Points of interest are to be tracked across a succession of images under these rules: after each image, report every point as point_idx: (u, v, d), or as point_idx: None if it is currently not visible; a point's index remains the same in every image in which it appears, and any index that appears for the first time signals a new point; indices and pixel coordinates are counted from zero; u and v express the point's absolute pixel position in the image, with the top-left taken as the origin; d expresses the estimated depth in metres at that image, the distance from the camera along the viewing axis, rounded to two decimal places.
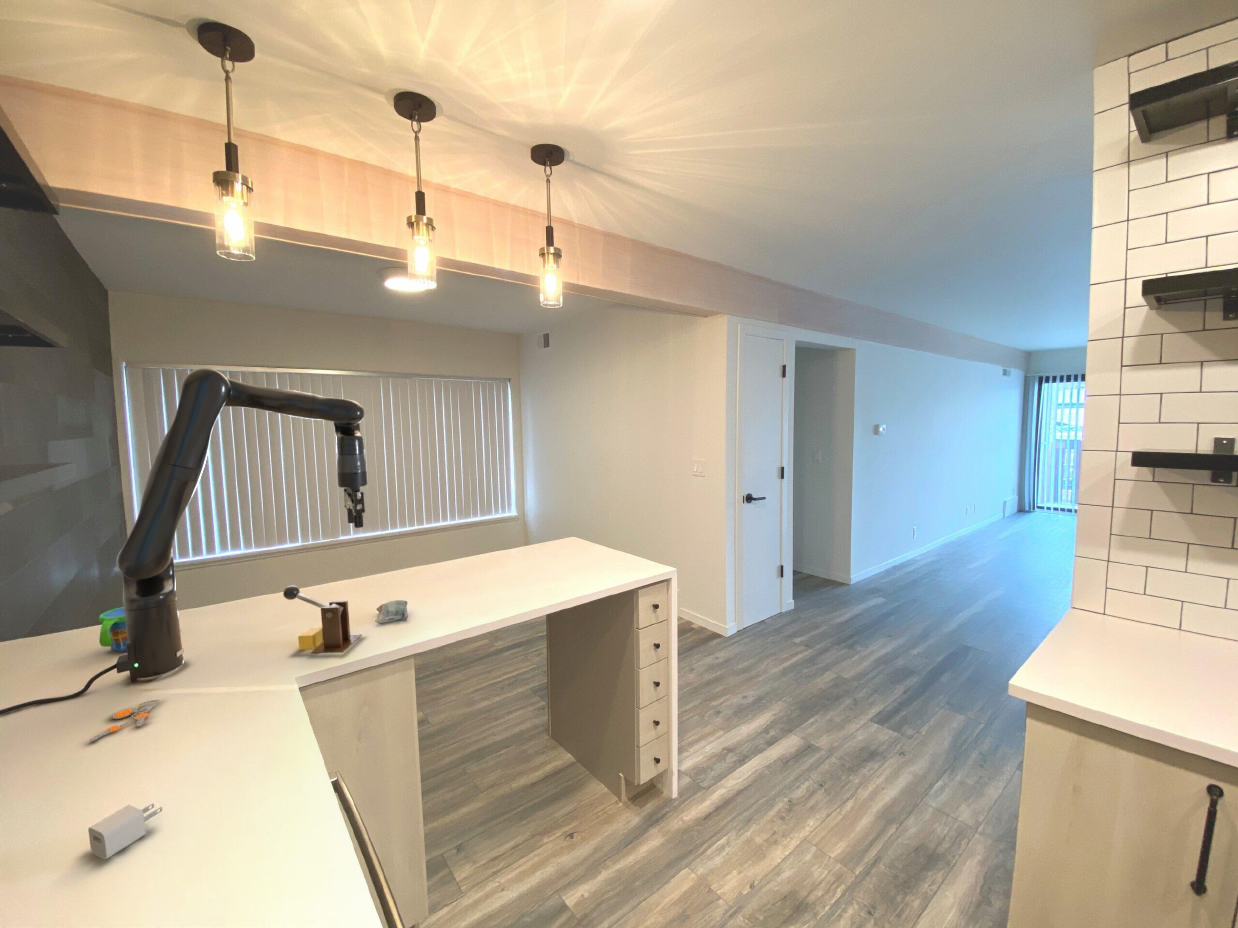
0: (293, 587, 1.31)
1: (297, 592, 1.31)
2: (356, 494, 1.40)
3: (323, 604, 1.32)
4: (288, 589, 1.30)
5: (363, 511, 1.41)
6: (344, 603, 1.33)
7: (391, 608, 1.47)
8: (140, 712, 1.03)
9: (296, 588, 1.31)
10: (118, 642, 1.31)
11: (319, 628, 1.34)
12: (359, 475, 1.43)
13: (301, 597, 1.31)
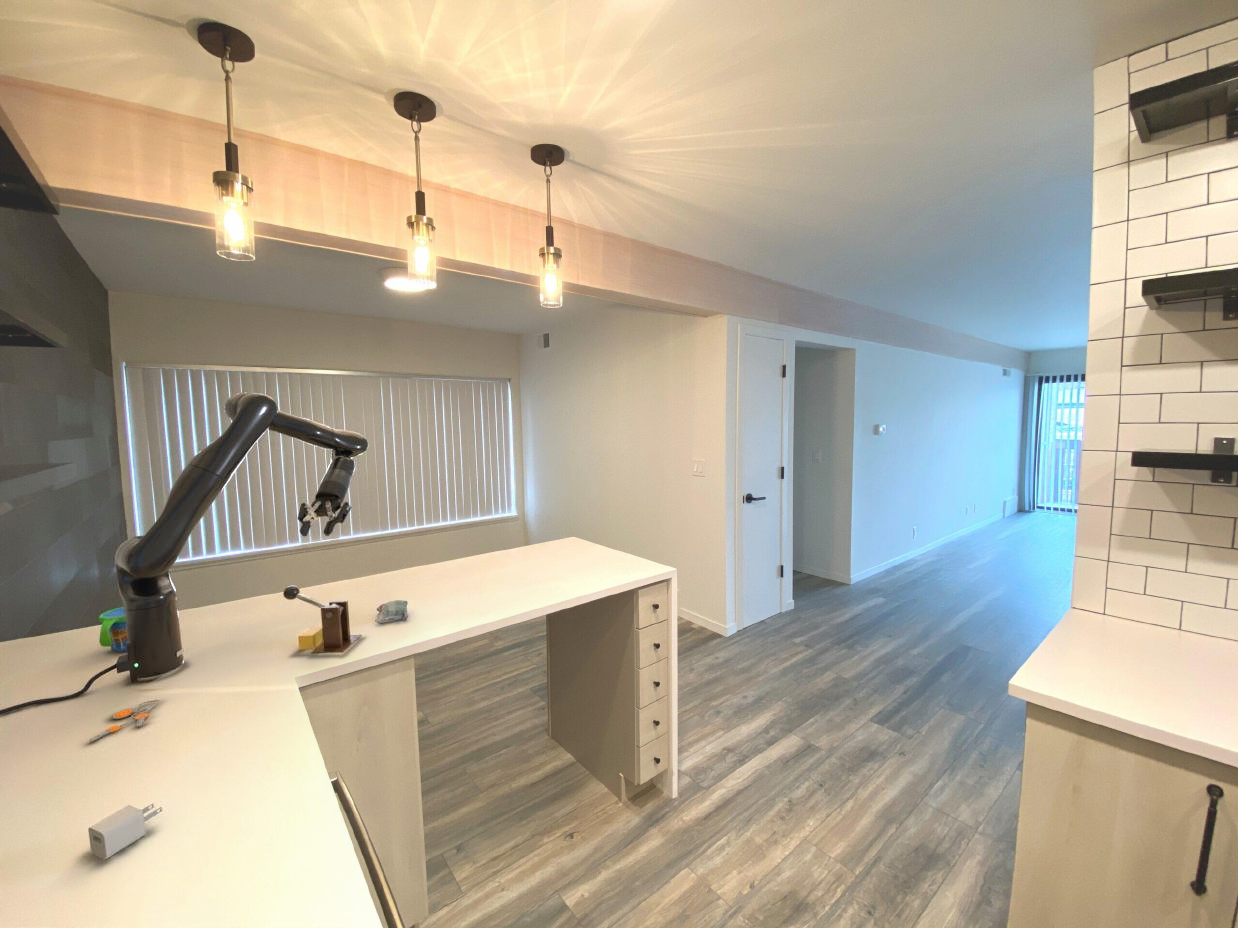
0: (293, 587, 1.31)
1: (297, 592, 1.31)
2: (348, 504, 1.48)
3: (323, 604, 1.32)
4: (288, 589, 1.30)
5: (342, 521, 1.46)
6: (344, 603, 1.33)
7: (391, 608, 1.47)
8: (140, 712, 1.03)
9: (296, 588, 1.31)
10: (118, 642, 1.31)
11: (319, 628, 1.34)
12: (345, 492, 1.53)
13: (301, 597, 1.31)
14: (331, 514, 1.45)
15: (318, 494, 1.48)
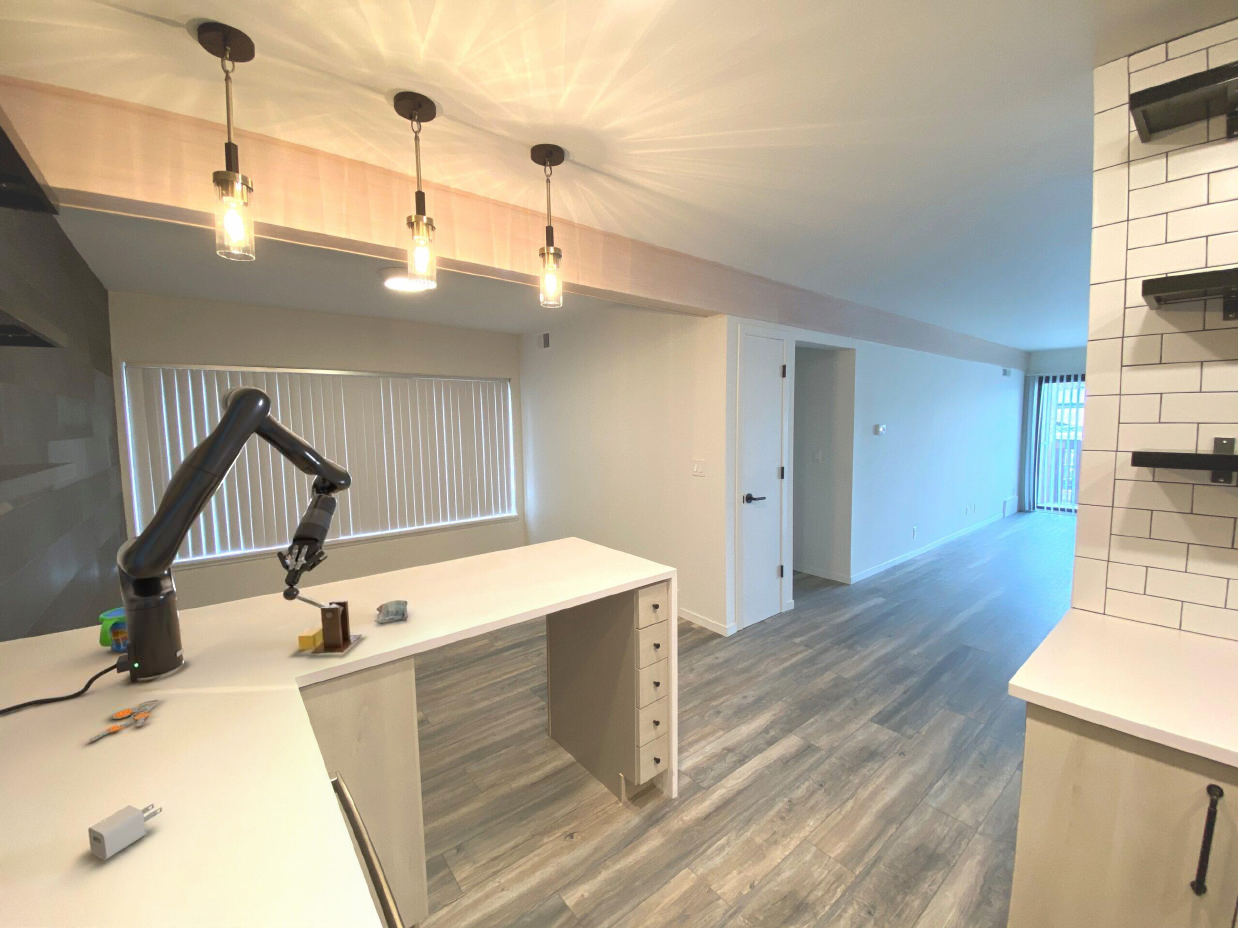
0: (292, 588, 1.31)
1: (297, 593, 1.31)
2: (323, 554, 1.36)
3: (323, 604, 1.32)
4: (288, 590, 1.30)
5: (309, 570, 1.35)
6: (344, 603, 1.33)
7: (391, 608, 1.47)
8: (140, 712, 1.03)
9: (296, 589, 1.31)
10: (118, 642, 1.31)
11: (319, 628, 1.34)
12: (326, 534, 1.42)
13: (301, 598, 1.31)
14: (300, 562, 1.34)
15: (295, 537, 1.37)
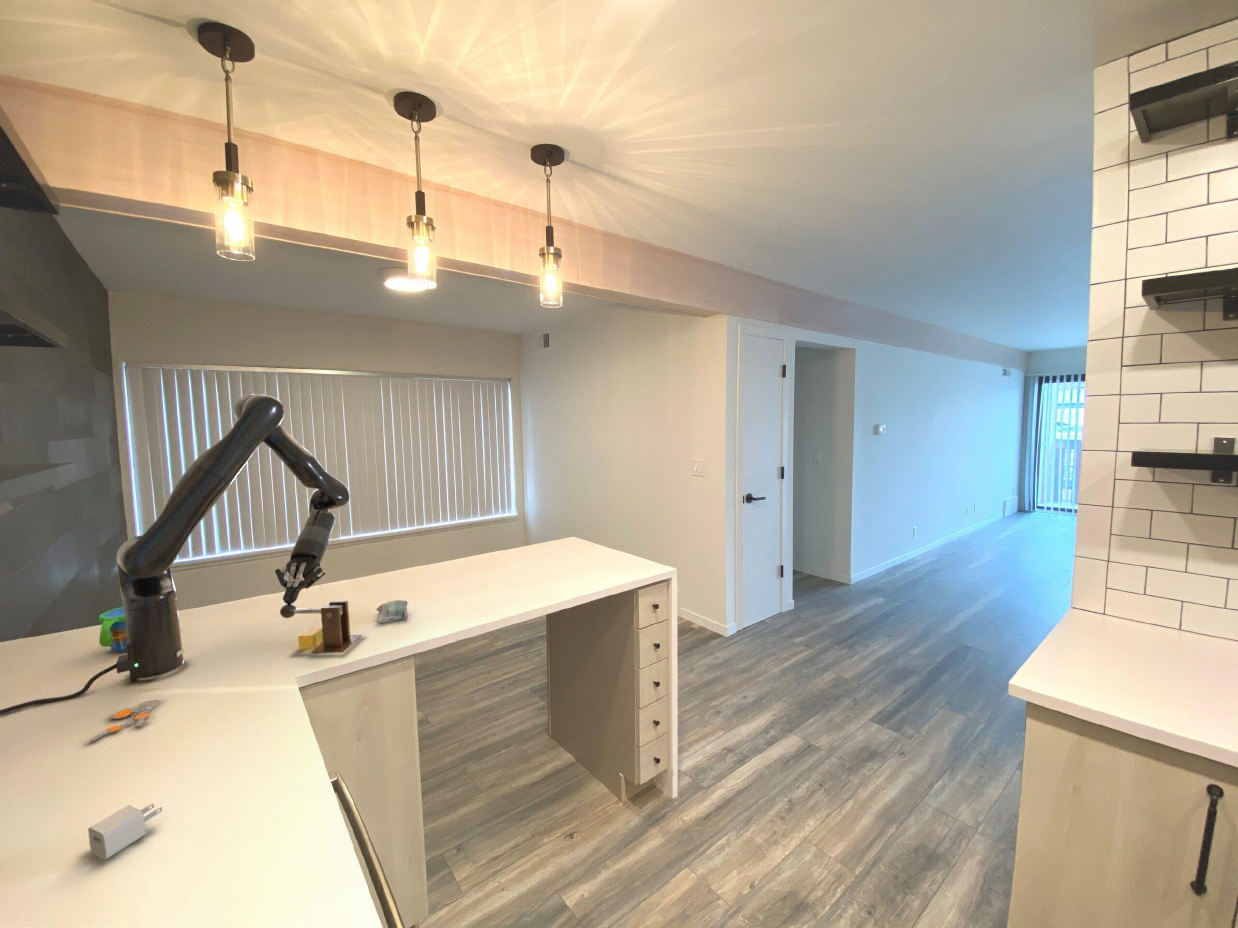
0: (287, 605, 1.31)
1: (293, 608, 1.31)
2: (321, 571, 1.36)
3: None
4: (283, 608, 1.30)
5: (307, 587, 1.35)
6: (344, 603, 1.33)
7: (391, 608, 1.47)
8: (140, 712, 1.03)
9: (291, 605, 1.32)
10: (118, 642, 1.31)
11: (319, 628, 1.34)
12: (324, 550, 1.43)
13: (298, 611, 1.31)
14: (298, 579, 1.34)
15: (293, 554, 1.37)
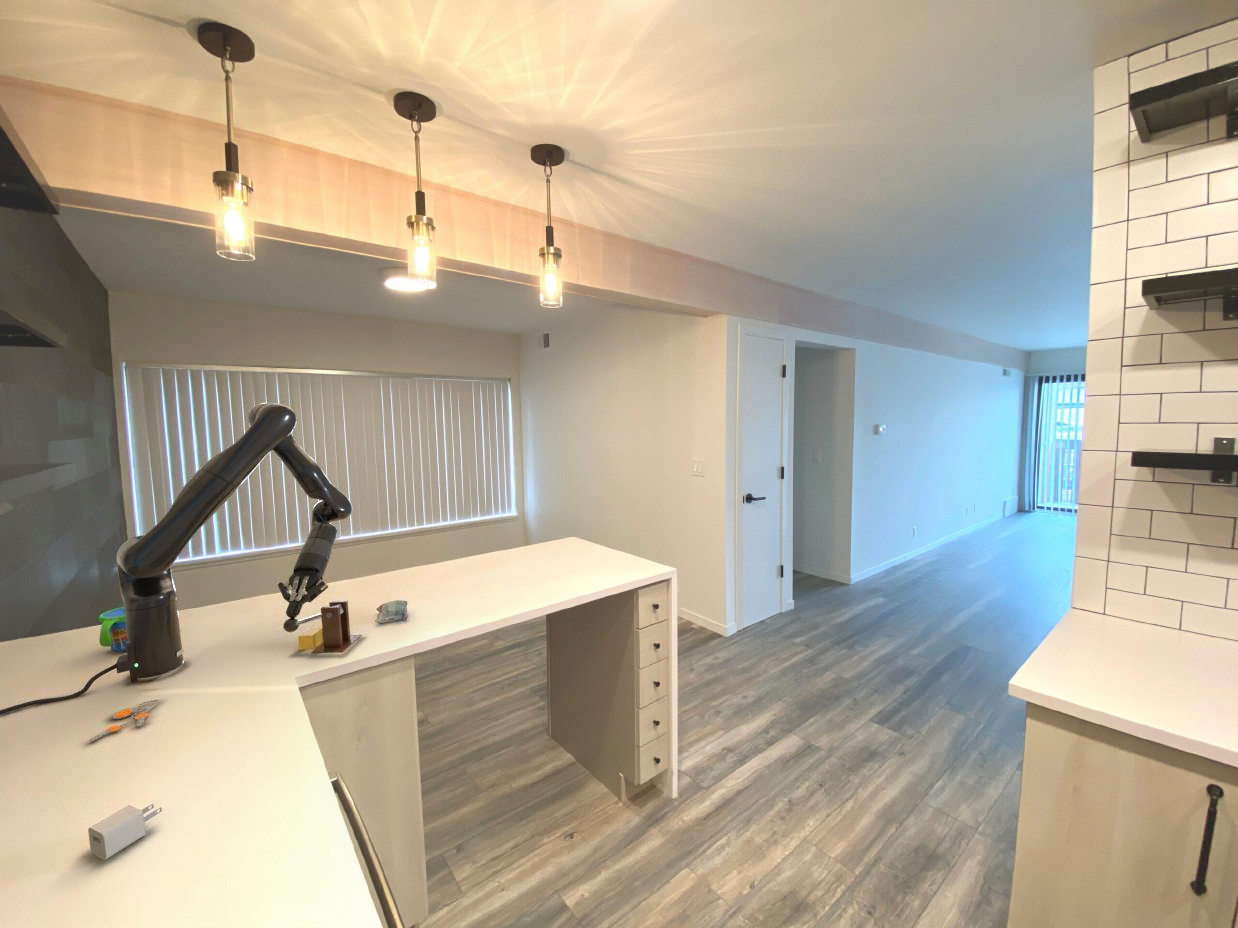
0: (288, 619, 1.31)
1: (295, 620, 1.32)
2: (324, 585, 1.37)
3: None
4: (285, 623, 1.31)
5: (310, 601, 1.36)
6: (344, 603, 1.33)
7: (391, 608, 1.47)
8: (140, 712, 1.03)
9: (292, 618, 1.32)
10: (118, 642, 1.31)
11: (319, 628, 1.34)
12: (326, 563, 1.43)
13: (301, 621, 1.31)
14: (301, 593, 1.35)
15: (296, 568, 1.38)
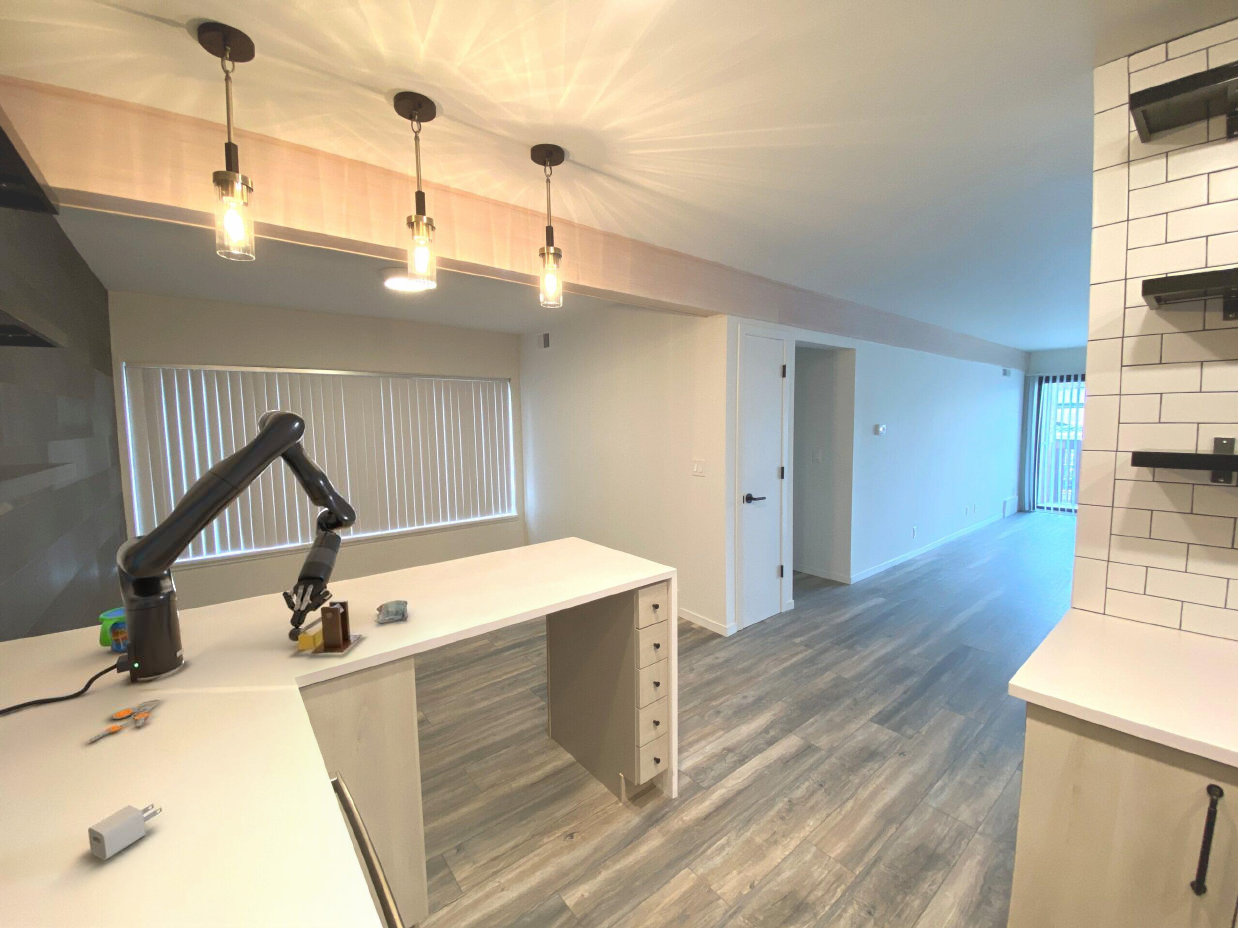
0: (291, 629, 1.32)
1: (298, 628, 1.32)
2: (328, 594, 1.37)
3: None
4: (289, 633, 1.31)
5: (314, 610, 1.36)
6: (344, 603, 1.33)
7: (391, 608, 1.47)
8: (140, 712, 1.03)
9: (295, 627, 1.32)
10: (118, 642, 1.31)
11: (319, 628, 1.34)
12: (330, 572, 1.43)
13: (304, 628, 1.32)
14: (306, 602, 1.35)
15: (301, 577, 1.38)
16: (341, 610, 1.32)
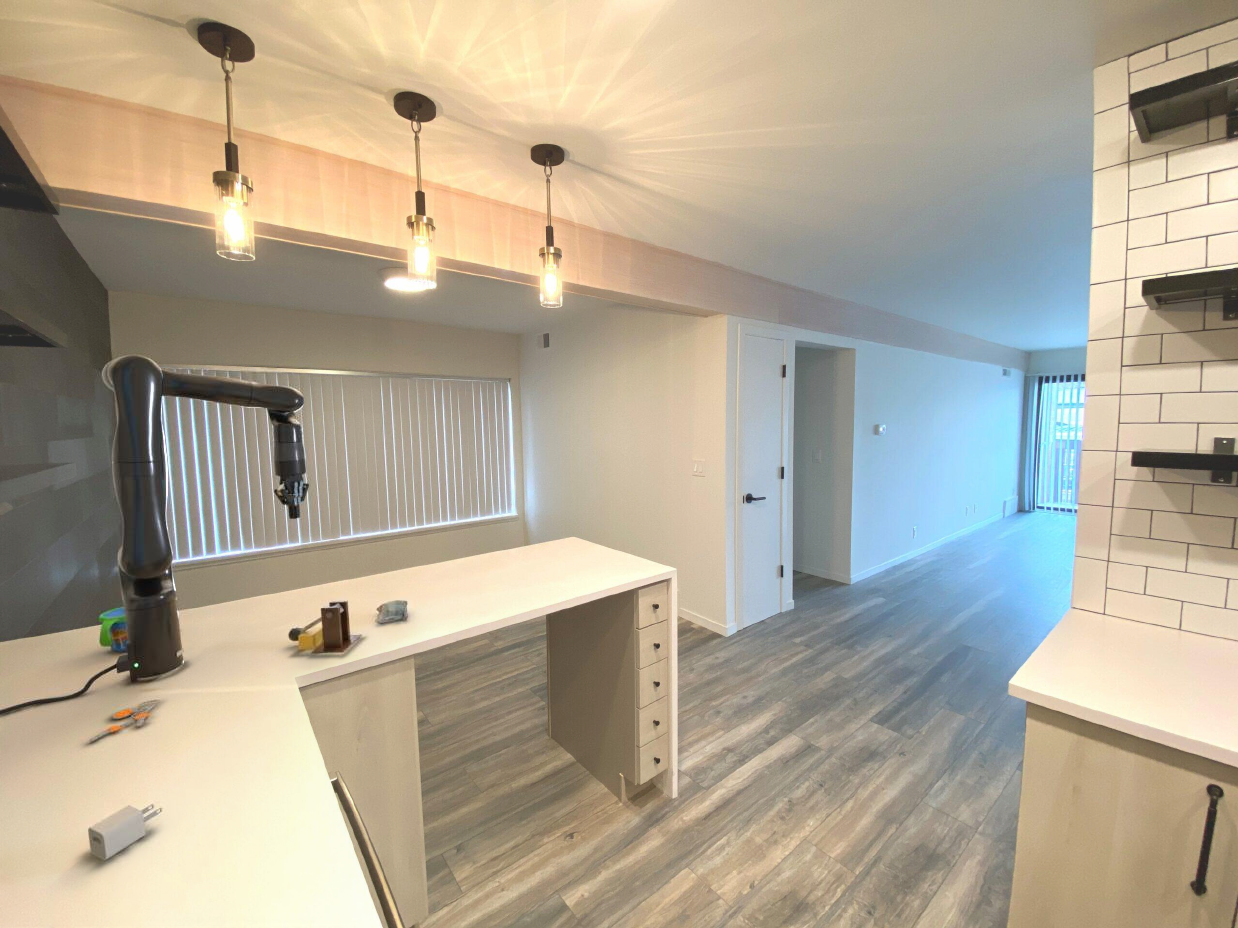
0: (291, 629, 1.32)
1: (298, 628, 1.32)
2: (276, 492, 1.38)
3: None
4: (289, 633, 1.31)
5: (290, 504, 1.41)
6: (344, 603, 1.33)
7: (391, 608, 1.47)
8: (140, 712, 1.03)
9: (295, 627, 1.32)
10: (118, 642, 1.31)
11: (319, 628, 1.34)
12: (286, 464, 1.40)
13: (304, 628, 1.32)
14: None
15: None
16: (341, 610, 1.32)
